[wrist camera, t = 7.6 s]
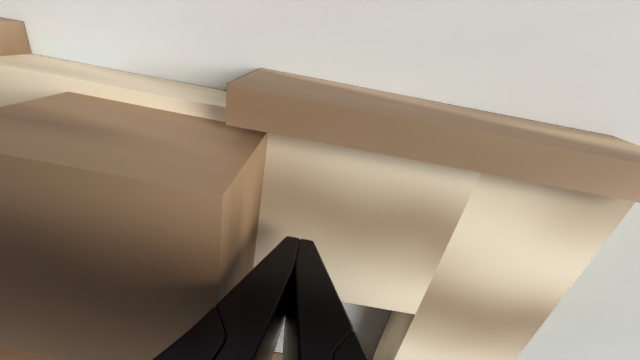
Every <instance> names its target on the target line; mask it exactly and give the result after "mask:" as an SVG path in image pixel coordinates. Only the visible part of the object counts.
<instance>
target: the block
mask: <svg viewBox="0 0 640 360" xmlns="http://www.w3.org/2000/svg"><path fill="white" fill-rule="evenodd" d="M267 140H268V133H267V132H261V131H256V130H251V129H245V128H240V127H235V126H230V125H225V122H222V121H217V120H212V119H207V118H201V117H196V116H191V115H186V114H181V113H176V112H171V111H166V110H160V109H155V108H150V107H145V106H140V105H135V104H130V103H125V102H119V101H114V100H109V99H104V98H99V97H94V96H89V95H83V94H78V93H73V92H65V93H60V94H56V95H51V96H47V97H42V98H38V99H33V100H29V101H25V102H20V103H16V104H11V105H7V106H2V107H0V347H2V348H8V349H14V350H20V351H26V352H31V353H37V354H43V355H49V356H55V357H61V358H67V359H73V360H152V359H154V358H155V357H156V356H157V355H159V354H160V353H161V352H163V351H164V350H165V349H166V348H168V347H169V346H170V345H171V344H172V343H174V342H175V341H176V340H177V339H179V338H180V337H181V336H182V335H183V334H185V333H186V332H187V331H188V330H189V329H190V328H191V327H193V326H194V325H195V324H196V323H197V322H198V321H199V320H200V319H201V318H202V317H203V316H204V315H205V314H207V313H208V312H209V311H210V310H211V309H212V308H213V307H215V306H216V304H217V303H218V302H219V301H220V300H221V299H222V298H223V297H224V296H225V295H226V294H227V293H228V292H229V291H230V290H231V289H232V288H234V287H235V286H236V285H237V284H238V283H239V282H240V281H241V280H242V279H243V278H244V277H245V276H246V275H247V274H248V273H249V272H250V271H251V270H252V269H253V267H254V258H255V249H256V240H257V231H258V222H259V213H260V204H261V195H262V186H263V177H264V168H265V158H266V149H267Z"/></svg>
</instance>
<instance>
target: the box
mask: <svg viewBox="0 0 640 360" xmlns="http://www.w3.org/2000/svg"><path fill="white" fill-rule="evenodd" d="M65 92H73V93H78V94H83V95H89V96H94V97H99V98H104V99H109V100H114V101H119V102H125V103H130V104H135V105H140V106H145V107H150V108H155V109H160V110H166V111H171V112H176V113H181V114H186V115H191V116H196V117H201V118H207V119H212V120H217V121H222V122H225V125H230V126H235V127H240V128H245V129H251V130H256V131H261V132H267V133H268V140H267V149H266V158H265V168H264V177H263V186H262V195H261V204H260V213H259V222H258V231H257V240H256V249H255V258H254V267H255V266H256V265H257V264H258V263H259V262H260V261H261V260H262V259H263V258H264V257H265V256H267V255H268V254H269V253H270V252H271V251H272V250H273V249H274V248H275V247H276V246H277V245H278V244H279V243H280V242H281V241H282V240H283V239H284V238H285V237H286V236H291V237H296V238H299V239H307V240H312V241H313V242H314V243H315V246H316V248H317V250H318V252H319V254H320V256H321V259H322V261H323V263H324V265H325V267H326V269H327V272H328V274H329V276H330V278H331V280H332V283H333V285H334V287H335V289H336V291H337V293H338V296H339V298H340V300H341V302H346V303H352V304H357V305H363V306H369V307H375V308H381V309H386V310H392V312H391V315H390V317H389V320H388V322H387V324H386V327H385V329H384V332H383V334H382V337H381V339H380V341H379V344H378V346H377V349H376V351H375V354H374V356H373V358H372V360H515V359H516V358H517V357H518V355H519V354H520V353H521V352H522V350H523V349H524V348H525V346H526V345H527V344H528V342H529V341H530V340H531V338H532V337H533V336H534V334H535V333H536V332H537V330H538V329H539V328H540V327H541V325H542V324H543V323H544V321H545V320H546V319H547V317H548V316H549V315H550V313H551V312H552V311H553V309H554V308H555V307H556V306H557V304H558V303H559V302H560V300H561V299H562V298H563V296H564V295H565V294H566V292H567V291H568V290H569V288H570V287H571V286H572V284H573V283H574V282H575V281H576V279H577V278H578V277H579V275H580V274H581V273H582V271H583V270H584V269H585V267H586V266H587V265H588V263H589V262H590V261H591V259H592V258H593V257H594V256H595V254H596V253H597V252H598V250H599V249H600V248H601V246H602V245H603V244H604V242H605V241H606V240H607V238H608V237H609V236H610V234H611V233H612V232H613V231H614V229H615V228H616V227H617V225H618V224H619V223H620V221H621V220H622V219H623V217H624V216H625V215H626V213H627V212H628V211H629V209H630V208H631V207H632V206H633V204H634V203H635V202H639V203H640V146H638V145H635V144H632V143H630V142H627V141H625V140H622V139H619V138H617V137H614V136H610V135H605V134H600V133H595V132H589V131H584V130H579V129H574V128H569V127H564V126H558V125H553V124H548V123H543V122H538V121H533V120H527V119H522V118H517V117H512V116H507V115H502V114H497V113H491V112H486V111H481V110H476V109H471V108H466V107H460V106H455V105H450V104H445V103H440V102H435V101H429V100H424V99H419V98H414V97H409V96H404V95H399V94H393V93H388V92H383V91H378V90H373V89H368V88H362V87H357V86H352V85H347V84H342V83H337V82H332V81H326V80H321V79H316V78H311V77H306V76H301V75H295V74H290V73H285V72H280V71H275V70H270V69H264V68H260V69H258V70H256V71H254V72H251V73H249V74H247V75H245V76H243V77H241V78H238V79H236V80H234V81H232V82H230V83H228V84H227V91H223V90H218V89H213V88H207V87H202V86H197V85H192V84H186V83H181V82H176V81H171V80H166V79H160V78H155V77H150V76H145V75H139V74H134V73H129V72H124V71H118V70H113V69H108V68H103V67H97V66H92V65H87V64H82V63H77V62H71V61H66V60H61V59H56V58H50V57H45V56H40V55H35V54H31V51H30V47H29V43H28V39H27V34H26V30H25V26H24V22H22V21H17V20H12V19H7V18H1V17H0V107H2V106H7V105H11V104H16V103H20V102H25V101H29V100H33V99H38V98H42V97H47V96H51V95H56V94H60V93H65ZM254 267H253V268H254ZM282 359H283V354H280V353H275V352H274V353H273V357H272V360H282ZM0 360H73V359H67V358H61V357H55V356H49V355H43V354H37V353H31V352H26V351H20V350H14V349H8V348H2V347H0Z"/></svg>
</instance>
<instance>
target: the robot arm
mask: <svg viewBox="0 0 640 360" xmlns="http://www.w3.org/2000/svg"><path fill="white" fill-rule="evenodd" d="M284 319H285V328H284V343H283V359H282V360H368V358H367V356H366V354H365V352H364V350H363V348H362V346H361V343H360V341H359V339H358V337H357V335H356V332H355V331H353V330H354V328H353V326H352V324H351V322H350V320H349V317H348V315H347V313H346V311H345V309H344V307H343V304H342V302H341V300H340V298H339V296H338V293H337V291H336V289H335V287H334V285H333V283H332V280H331V278H330V276H329V274H328V272H327V269H326V267H325V265H324V263H323V261H322V259H321V256H320V254H319V252H318V250H317V248H316V246H315V243H314V242H313V241H312V240H307V239H299V238H296V237H291V236H286V237H285V238H284V239H283V240H282V241H281V242H280V243H279V244H278V245H277V246H276V247H275V248H274V249H273V250H272V251H271V252H270V253H269V254H268V255H267V256H265V257H264V258H263V259H262V260H261V261H260V262H259V263H258V264H257V265H256V266H255V267H254V268H253V269H252V270H251V271H250V272H249V273H248V274H247V275H246V276H245V277H244V278H243V279H242V280H241V281H240V282H239V283H238V284H237V285H236V286H235V287H234V288H232V289H231V290H230V291H229V292H228V293H227V294H226V295H225V296H224V297H223V298H222V299H221V300H220V301H219V302H218V303H217V304H216V306H215V307H213V308H212V309H211V310H210V311H209V312H208V313H207V314H205V315H204V316H203V317H202V318H201V319H200V320H199V321H198V322H197V323H196V324H195V325H194V326H193V327H191V328H190V329H189V330H188V331H187V332H186V333H185V334H183V335H182V336H181V337H180V338H179V339H177V340H176V341H175V342H174V343H172V344H171V345H170V346H169V347H168V348H166V349H165V350H164V351H163V352H161V353H160V354H159V355H157V356H156V357H155V358H154V359H152V360H272V357H273V353H274V350H275V347H276V344H277V341H278V338H279V335H280V332H281V328H282V325H283V322H284Z"/></svg>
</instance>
